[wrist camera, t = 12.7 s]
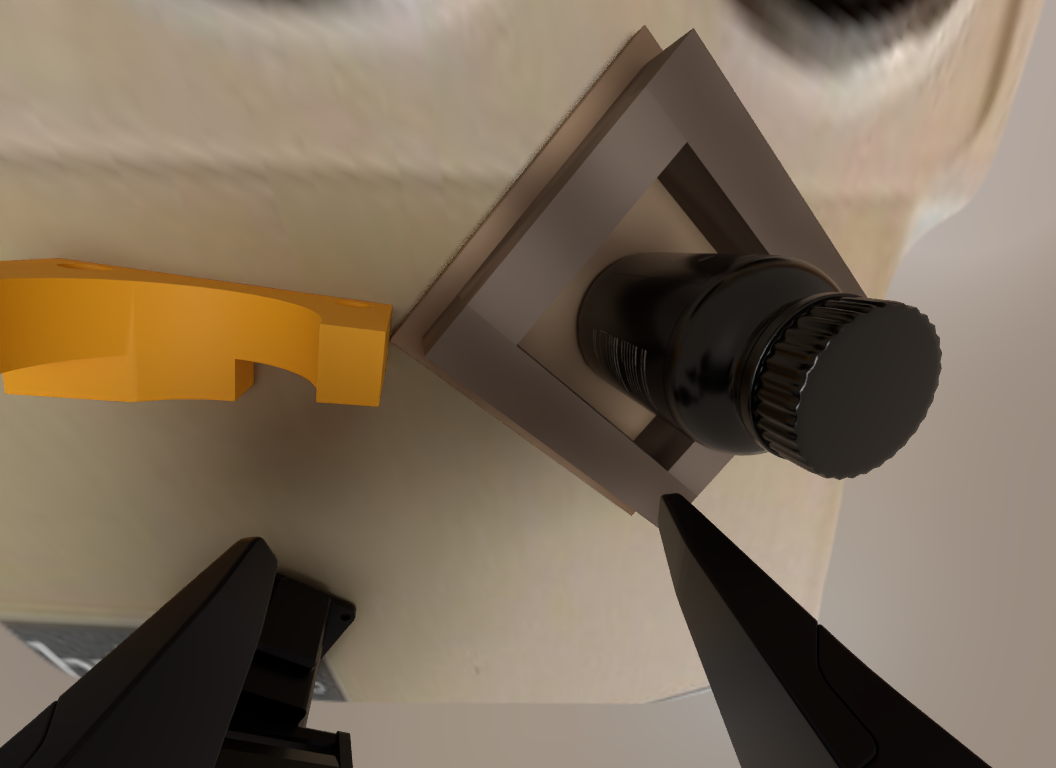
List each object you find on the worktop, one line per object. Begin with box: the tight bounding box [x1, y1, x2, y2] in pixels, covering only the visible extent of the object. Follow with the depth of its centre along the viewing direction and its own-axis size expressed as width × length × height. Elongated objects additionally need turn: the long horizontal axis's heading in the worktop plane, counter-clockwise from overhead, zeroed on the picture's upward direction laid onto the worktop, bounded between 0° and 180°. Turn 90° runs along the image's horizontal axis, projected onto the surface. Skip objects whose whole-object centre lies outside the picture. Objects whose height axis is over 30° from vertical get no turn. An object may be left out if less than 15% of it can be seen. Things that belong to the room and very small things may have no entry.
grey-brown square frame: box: [390, 25, 867, 528], centre depth 21 cm, size 17×17×4 cm
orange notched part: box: [0, 258, 392, 407], centre depth 16 cm, size 12×4×6 cm, turn 80°
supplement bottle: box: [579, 252, 942, 480], centre depth 16 cm, size 7×7×12 cm
